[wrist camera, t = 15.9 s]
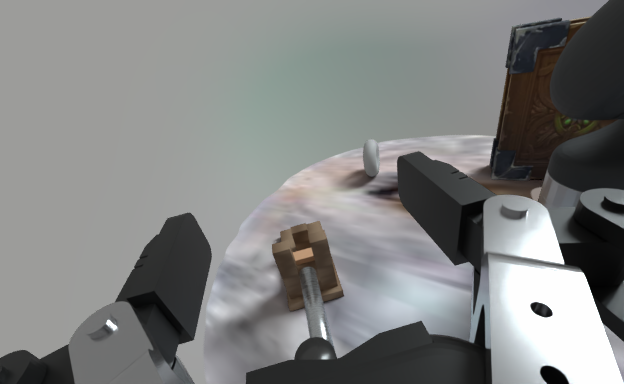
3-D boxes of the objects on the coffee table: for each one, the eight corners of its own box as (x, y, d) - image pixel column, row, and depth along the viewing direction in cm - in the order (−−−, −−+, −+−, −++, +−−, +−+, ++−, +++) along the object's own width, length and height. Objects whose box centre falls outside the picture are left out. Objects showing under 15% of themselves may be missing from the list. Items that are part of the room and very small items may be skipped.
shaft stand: (320, 226, 59) (309, 180, 53) (343, 295, 43) (331, 242, 37) (282, 236, 59) (266, 192, 53) (290, 311, 43) (269, 259, 37)
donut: (369, 165, 78) (365, 133, 73) (381, 165, 77) (378, 132, 72) (364, 183, 71) (360, 149, 65) (377, 183, 69) (374, 148, 64)
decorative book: (491, 179, 61) (517, 30, 46) (489, 164, 66) (512, 25, 51) (639, 185, 50) (739, -8, 35) (622, 167, 55) (703, -8, 40)
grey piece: (321, 283, 40) (302, 216, 33) (361, 441, 24) (340, 374, 18) (302, 288, 40) (279, 222, 33) (329, 451, 24) (296, 388, 17)
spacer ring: (329, 268, 47) (323, 243, 44) (332, 277, 45) (326, 252, 42) (291, 279, 46) (282, 255, 43) (292, 288, 45) (283, 264, 42)
